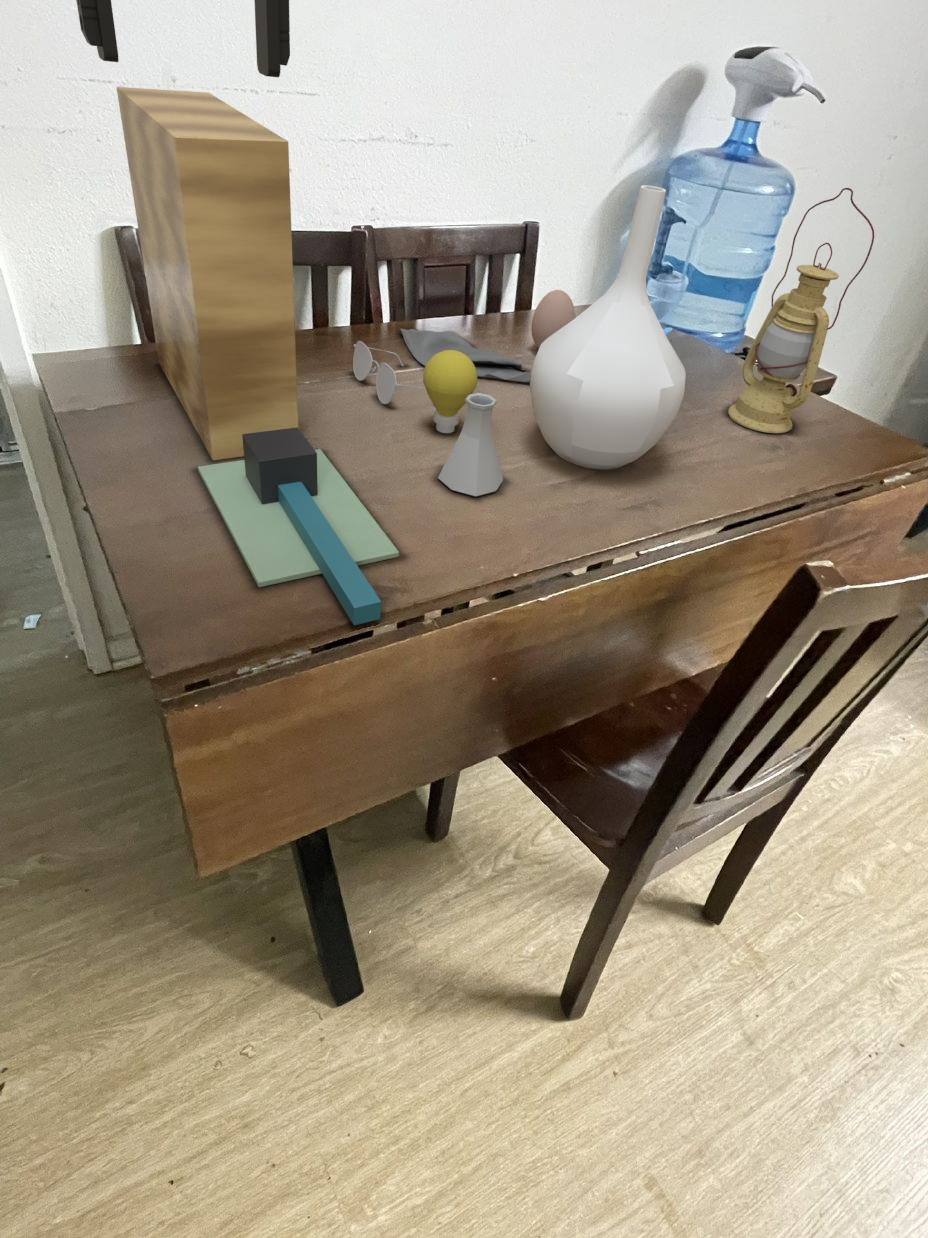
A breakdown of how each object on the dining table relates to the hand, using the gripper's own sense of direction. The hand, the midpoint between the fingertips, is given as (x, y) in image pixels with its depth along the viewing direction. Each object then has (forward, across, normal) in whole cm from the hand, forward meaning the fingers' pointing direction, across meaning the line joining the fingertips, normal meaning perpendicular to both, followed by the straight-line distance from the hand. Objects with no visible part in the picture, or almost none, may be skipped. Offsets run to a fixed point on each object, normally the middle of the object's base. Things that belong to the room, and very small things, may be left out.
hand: (191, 67), depth 41 cm
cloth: (+38, -46, -46) cm, 75 cm away
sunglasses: (+38, -33, -39) cm, 64 cm away
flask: (+38, -31, -13) cm, 51 cm away
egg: (+37, -62, -45) cm, 86 cm away
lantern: (+37, -81, -16) cm, 90 cm away
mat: (+38, -10, -14) cm, 42 cm away
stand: (+38, -9, -40) cm, 56 cm away
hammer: (+38, -10, -8) cm, 40 cm away
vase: (+38, -49, -15) cm, 64 cm away
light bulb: (+38, -34, -26) cm, 57 cm away
